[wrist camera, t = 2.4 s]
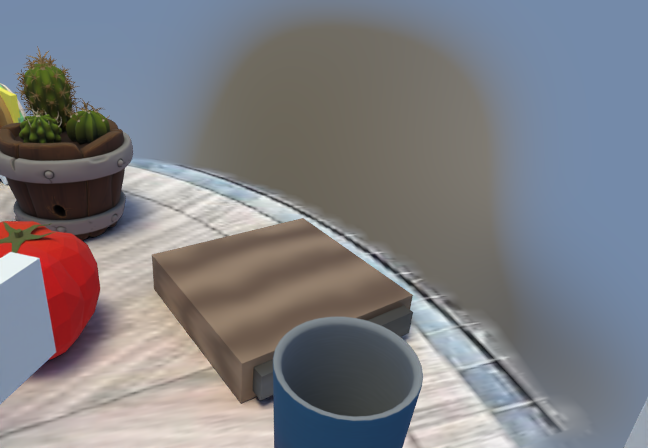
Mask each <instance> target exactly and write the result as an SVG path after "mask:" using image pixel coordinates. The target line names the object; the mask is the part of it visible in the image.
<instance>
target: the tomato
mask: <svg viewBox="0 0 648 448" xmlns="http://www.w3.org/2000/svg"><path fill="white" fill-rule="evenodd" d="M51 224H52V223H51ZM48 225H50V224H48ZM45 226H47V225H41V224H40V223H37V222H34V221H3V222H1V223H0V258H2V257H3V256H5V255H6V254H8V253H10V252H13V253H18V254H23V255H27V256H32V257H37V258H40V263H41V269H42V274H43V280H44V286H45V291H46V297H47V303H48V308H49V314H50V320H51V325H52V331H53V336H54V342H55V348H56V353H55V354H54V355H53V356H52V357H51V358H49V359H53V358H55V357H57V356H59V355H61V354H62V353H64V352H66V351H67V350H68V349H69V347H70V346H71V345H72V344H73V343H74V342H75V341H76V339H77V338H78V337H79V335H80V334H81V332H82V331H83V329H84V328H85V326H86V324H87V323H88V321H89V320H90V318H91V317H92V315H93V314H94V312H95V308H96V304H97V300H98V297H99V293H100V283H99V276H98V268H97V263H96V261H95V259H94V257H93V255H92V253H91V251H90V249H89V247H88V245H87V244H86V243H84V242H83V241H82V240H80V239H79V238H77V237H76V236H75V235H73V234H71V233H63V232H55V231H51V230H50V229H48V228H46V227H45ZM49 359H48V360H49Z"/></svg>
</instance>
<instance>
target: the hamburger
mask: <svg viewBox="0 0 648 448" xmlns="http://www.w3.org/2000/svg"><path fill="white" fill-rule="evenodd" d="M24 114H25V112H24V110H23V108H22V106H21V104H20V102H19V101H18V99H17V95H15V94H13V93H12V91H11V90H10V89H9V88H7V87H6V86H5V85H3V84H0V128H1V127H2V126H5V125H8V124H11V123H20V122H21V123H22V122H23V121H24V119H25V115H26V114H25V115H24ZM21 115H22V116H21ZM20 116H21V117H20ZM23 117H24V118H23ZM19 118H20V122H19ZM0 179H1V180H2V182H3V183H4V184H5V185H7V184H8V182H7V180H6V177H5V176H2V175H0Z"/></svg>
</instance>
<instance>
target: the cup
mask: <svg viewBox="0 0 648 448" xmlns="http://www.w3.org/2000/svg"><path fill="white" fill-rule="evenodd" d="M422 380H423V373H422V367H421V364H420V361H419V359H418V357H417V355H416V354H415V352H414V351H413V349H412V348H411V347H410V346H409V345H408V344H407V343H406V342H405V341H404V340H403V339H402V338H401V337H399V336H398V335H397V334H395V333H394V332H392V331H391V330H389V329H387V328H385V327H383V326H381V325H378V324H375V323H372V322H370V321H366V320H362V319H357V318H350V317H325V318H318V319H314V320H311V321H307V322H305V323H302V324H300V325H298V326H296V327H294V328H293V329H292V330H290V331H289V332H287V333H286V334H285V335H284V337H283V338H282V339H281V340H280V341H279V343H278V345H277V347H276V349H275V352H274V356H273V398H274V448H402V447H403V444H404V440H405V437H406V434H407V431H408V428H409V425H410V421H411V418H412V415H413V412H414V409H415V406H416V402H417V399H418V396H419V393H420V390H421V387H422Z"/></svg>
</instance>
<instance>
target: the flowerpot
mask: <svg viewBox="0 0 648 448" xmlns="http://www.w3.org/2000/svg"><path fill="white" fill-rule="evenodd" d="M38 51H39V49H38ZM47 53H48V52H46V54H47ZM39 54H40V51H39ZM46 54H45V55H46ZM45 55H44V57H45ZM30 57H31V56H30ZM38 57H39V59H38V58H35V57H32V58H35V59H37V60H38V61H36V60H35V61H33V62H31V63H33V64H31V63H29V65H30V66H31V67H30V66H28V68H29V67H30V68H29V70H28V71H27V72H26V73H25V75H22V74H20V75H22V76H21V77H24V79H22V78H21V77H19V78H21V79H22V80H23V81H22V82H21V80H20V82H21V83H22V84H24V83H25V84H24V85H25V86H24V91H21V90H20V91H21V94H22V95H23V94H25V95H26V97H27V98H24V99H25V100H26V99H28V100H29V101H28V100H26V101H27V103H28V105H29V106H30V107H29V108H28V107H27V106H26V107H27V110H28V111H29V110H31V111H32V112H33V114H32V115H34V116H26V115H25V114H24V115H25V119H24V121H23V122H22V123H21V122H20V118H19V122H20V123H11V124H8V125H5V126H2V127H1V128H0V175H2V176H5V177H6V180H7V182H8V184H9V186H10V188H11V190H12V192H13V194H14V196H15V198H16V202H15V204H14V212H15V214H16V217H15V219H16V221H34V222H37V223H40V224H41V225H47V226H45V227H46V228H48V229H50V230H51V231H55V232H63V233H71V234H73V235H75V236H76V237H77V238H79V239H80V240H84V239H87V238H88V236H90V237H96V236H99V235H101V234H102V233H104V232H105V230H106V229H107V228H108V226H109V227H114V226H115V225H116V223H117V221H118V220H119V219H120V217H121V216H122V214H123V211H124V206H125V194H124V193H123V192H122V191H121V189H122V183H123V178H124V171H125V167H126V166H128V164H129V163H130V162H131V160H132V157H133V146H132V142H131V139H130V137H129V136H128V135H127V134H126V133H124V132H123V131H122V130H121V129H118V127H117V125H116V124H115V122H113V121H112V120H109V119H107V118H105V117H104V116H103V115H102V114H100V113H98V112H97V110H98V109H96V110H95V109H94V108H92V109H94V110H95V111H94V110H93V111H91V110H92V109H91V110H87V105H88V103H87V104H85V102H84V103H83V104H84V107H85V109H83V108H82V109H81V110H82V111H79V112H76V113H75V112H73V111H74V110H73V109H72V105H74V104H75V103H74V102H75V101H71V100H72V98H71V97H72V96H74V95H72V96H71V94H70V93H71V92H70V90H72V89H73V88H74V87H72V86H71V84H70V83H69V84H68V82H70V80H69V81H67V80H68V79H66V77H65V75H66V74H65V73H66V72H65V71H67V70H63V71H61V70H60V69H59V68H57V67H55V65H54V66H53V65H52V62H53V61H54V60H52V61H51V57H50V58H49V61H47V60H46V61H47V62H48V63H46V61H44V57H42V59H41V55H40V56H39V55H38ZM28 62H30V60H29V61H28ZM35 62H38V64H34V63H35ZM67 73H68V72H67ZM18 74H19V73H18ZM67 77H69V76H68V75H67ZM18 80H19V79H18ZM23 82H24V83H23ZM71 82H72V81H71ZM74 83H75V82H74ZM19 86H20V85H19ZM21 87H22V86H21ZM73 90H74V89H73ZM74 92H75V91H74ZM16 93H17V92H16ZM72 93H73V92H72ZM22 95H21V96H22ZM73 99H76V98H73ZM22 100H23V99H22ZM24 103H25V102H24ZM24 105H25V104H24ZM75 105H76V104H75ZM90 106H91V105H90ZM73 107H74V106H73ZM91 107H93V106H91ZM77 108H78V107H76V111H77ZM72 110H73V111H72ZM28 111H27V112H28ZM27 112H26V113H27ZM30 115H31V114H30ZM21 116H22V115H21ZM21 116H20V117H21ZM23 118H24V117H23ZM51 223H52V224H51ZM48 224H50V225H48Z"/></svg>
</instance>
